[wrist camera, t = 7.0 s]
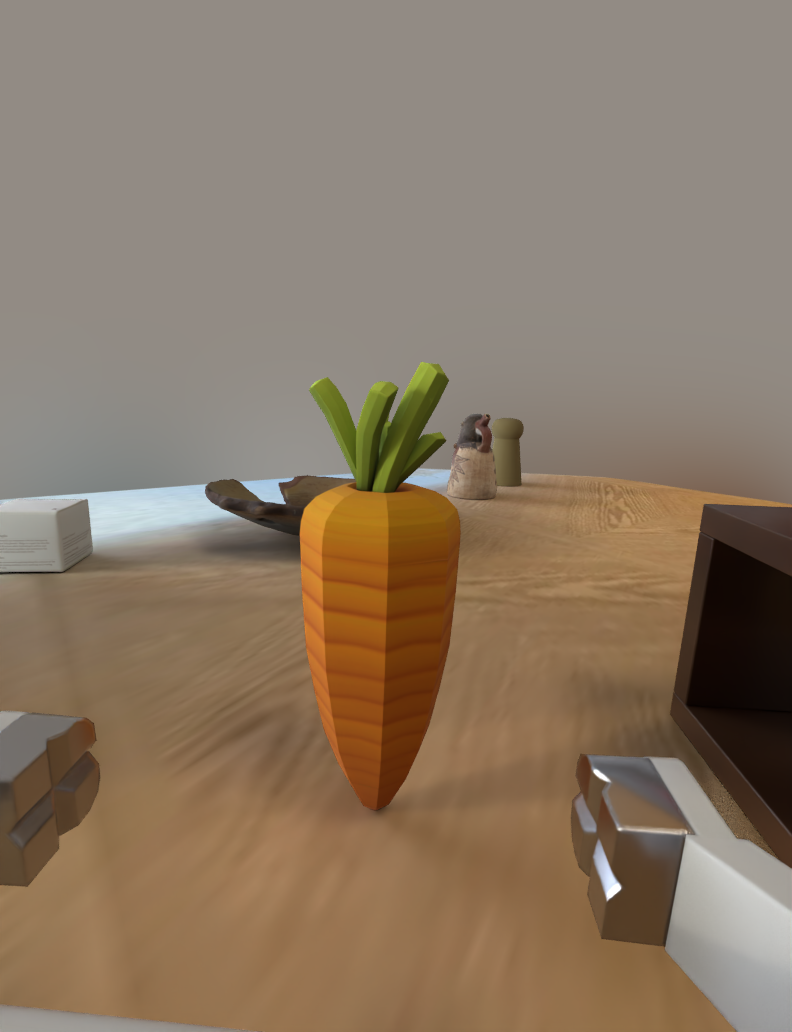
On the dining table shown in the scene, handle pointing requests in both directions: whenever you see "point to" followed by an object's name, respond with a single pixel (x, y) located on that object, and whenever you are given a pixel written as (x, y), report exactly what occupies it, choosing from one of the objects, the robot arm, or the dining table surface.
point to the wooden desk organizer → (742, 662)
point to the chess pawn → (507, 451)
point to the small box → (44, 534)
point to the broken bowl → (272, 514)
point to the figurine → (473, 461)
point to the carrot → (379, 585)
